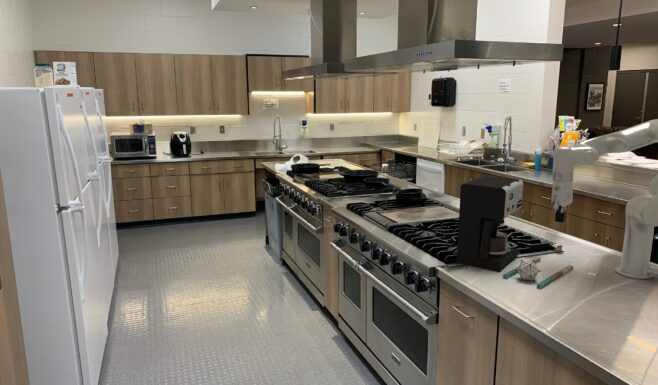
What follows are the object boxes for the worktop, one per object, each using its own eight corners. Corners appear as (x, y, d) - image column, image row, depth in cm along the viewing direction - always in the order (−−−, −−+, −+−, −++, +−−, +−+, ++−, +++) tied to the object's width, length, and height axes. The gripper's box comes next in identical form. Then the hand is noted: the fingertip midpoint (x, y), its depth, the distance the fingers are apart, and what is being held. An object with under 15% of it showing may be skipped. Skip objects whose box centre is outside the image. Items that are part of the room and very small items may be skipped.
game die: (528, 287, 190) (541, 266, 191) (534, 288, 182) (548, 266, 182) (508, 274, 192) (521, 253, 192) (513, 274, 183) (527, 252, 184)
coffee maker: (498, 275, 192) (504, 189, 185) (451, 265, 204) (456, 184, 197) (519, 257, 214) (525, 179, 207) (476, 248, 226) (480, 174, 218)
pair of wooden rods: (572, 269, 199) (573, 265, 199) (540, 289, 179) (541, 285, 179) (536, 260, 210) (537, 257, 209) (502, 278, 190) (503, 274, 190)
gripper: (564, 180, 184) (561, 227, 187) (579, 175, 194) (576, 219, 197) (545, 178, 189) (542, 223, 193) (560, 173, 199) (557, 216, 203)
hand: (559, 221), depth 195 cm, fingers closed
